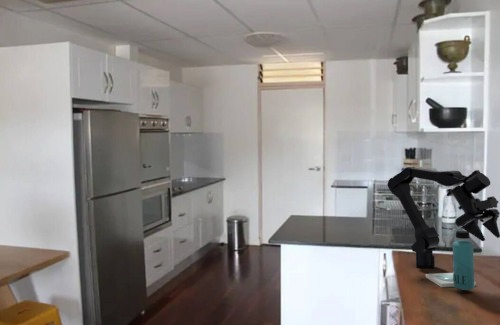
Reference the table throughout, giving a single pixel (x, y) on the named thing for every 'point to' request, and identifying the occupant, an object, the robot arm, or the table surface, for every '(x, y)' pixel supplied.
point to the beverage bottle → (463, 262)
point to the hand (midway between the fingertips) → (491, 239)
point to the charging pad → (442, 279)
